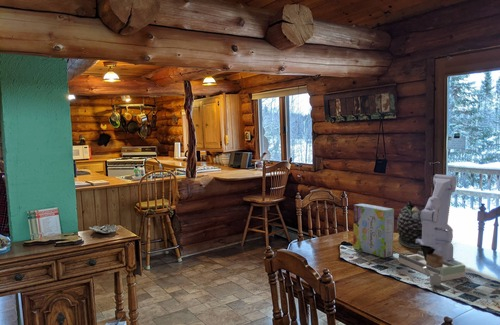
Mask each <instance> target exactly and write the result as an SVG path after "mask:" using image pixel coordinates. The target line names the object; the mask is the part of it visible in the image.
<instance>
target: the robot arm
mask: <svg viewBox="0 0 500 325" xmlns="http://www.w3.org/2000/svg"><path fill="white" fill-rule="evenodd" d="M432 182H433V186H434V189H433V191H432V196H430V197H429V198H428V200H427V203H426V205H425V207H424V208H423V209H422V210H420V211H421V215H420V218H421V224H422V239H416V243H419V244H421V245H423V246H421V247H420V248H419V249H421V252H423V254H424V258H425V261H426V257H427V254H434V253H435V254H438V255H440V256H443V260H444V261H447V262H449V261H453V260H455V258H454V245H453V243H452V241H453V238H454V236H453V235H454V234H453V232H454V230H453V228H452V226H450V225H449V224H448V223H449V215H450V207H451V200H452V198H451V197H452V193H454V192H456V190H457V177H456V175H454V174H452V175H451V174H437V173H435V175H433V179H432Z"/></svg>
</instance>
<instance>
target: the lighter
mask: <svg viewBox="0 0 500 325" xmlns="http://www.w3.org/2000/svg"><path fill="white" fill-rule="evenodd" d="M423 268H424V270H425V272H426V274H425V275H426V276H427V277H429V285H430V286H434V285H436V287H441V282H442V281H441V276H440V275H439V274H438V273H433V274H430V273H429V271H428V269H427V267H426V266H425V267H423Z"/></svg>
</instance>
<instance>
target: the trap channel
mask: <svg viewBox="0 0 500 325" xmlns="http://www.w3.org/2000/svg"><path fill="white" fill-rule="evenodd" d="M397 258H398V259H397V260H398V261H397V262H398V263H401V264H403V265H405V266H406V267H409V268H412V269H413V270H416V271H417V272H421V273H423V274H425V275H427V274H426V272H425V270H424V268H423V267H425V266H426V267H427V269H428V271H429V273H430V274H433V273H438V274H439V275H440V276H441V282H445V281H450V280H456V279H461V277H462V278H466V264H463V263H462V264H455V263H452V262H449V261H444V260H443V267H438V268H434V267H431V266H429V265H426V261H425V258H424V254H423V252H422V250H421V251H420V250H417V253H415V254H410V255H405V254H402V253H399V254H398V257H397Z"/></svg>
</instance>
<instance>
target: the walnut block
mask: <svg viewBox="0 0 500 325" xmlns="http://www.w3.org/2000/svg"><path fill="white" fill-rule="evenodd" d="M426 265H429V266H431V267H434V268H438V267H443V256H440V255H438V254H435V253H434V254H427V257H426Z"/></svg>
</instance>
